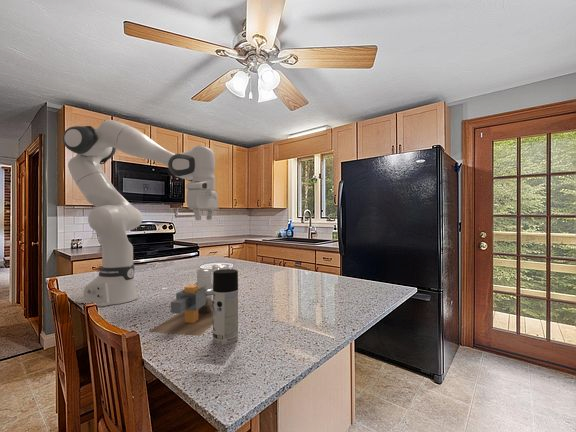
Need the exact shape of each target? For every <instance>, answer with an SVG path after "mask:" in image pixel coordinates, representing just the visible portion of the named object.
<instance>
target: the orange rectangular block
mask: <svg viewBox="0 0 576 432" xmlns="http://www.w3.org/2000/svg"><path fill="white" fill-rule="evenodd" d="M183 290H185V293H196V292H197V291H198V285H197V284H196V285H195V284H189V285H186V286H185V287H184V289H183ZM197 320H198V310H196V311H194V310H185V322H188V323H194V322H196V321H197Z"/></svg>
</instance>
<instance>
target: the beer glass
mask: <svg viewBox="0 0 576 432" xmlns="http://www.w3.org/2000/svg"><path fill="white" fill-rule="evenodd" d="M220 269H230V265H229V264H225V263H223V264H213V265H212V266H211V285H213V272H214V271H216V270H220Z"/></svg>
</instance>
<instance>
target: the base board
mask: <svg viewBox="0 0 576 432" xmlns="http://www.w3.org/2000/svg"><path fill="white" fill-rule="evenodd" d="M211 327H213V304H212V311H211V312H210V313H207V314H199V313H198V320H197V321H196V322H194V323H188V322H185V311H183V312H182V313H175V315H173V316H172V317H170V318H168V319H167V320H165V321H164V322H162V323H160V324H159V325H157V326H155V327H154V328H152V329H150V330H149V331H148V332H149V333H160V334H161V333H162V334H174V335H185V336H187V335H188V336H199V337H200V336H202V335H203V334H204V333H205V332H206V331H207V330H208V329H210V328H211Z"/></svg>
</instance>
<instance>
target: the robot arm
mask: <svg viewBox="0 0 576 432" xmlns="http://www.w3.org/2000/svg"><path fill="white" fill-rule="evenodd" d="M62 143H63V145H64V147H66V149H68V150H69V151H71V152H72V153H73V154H76V155H75V156H73V157H72V158H70V159H69V161H68V163H67V168H68V171H69V173H70V175H71V177H72V180H73V181H74V183H75V185H76V186H77V187H78V189H79V191H80V192H81V194H82V195H83V196H84V198H85V199H86V201H87V202H88V203H89V204H91V205H92V206H94V208H93V209H92V210H90V212H89V213H88V217H87V222H88V224H89V227H90V228H91V229H92V230H93V231H94V232H95V233H96V235H97V237H98V239H99V242H100V247H101V257H102V259H101V260H102V261H101V262H102V266H101V267H99V268H96V271H95V272H97V273H98V276H96V277H95V278H94V279H93V280H91V282H89V283H87V284H86V285H85V286H84V289H83V295H82V296H81V297H80V298H77V299H76V301H75V303H76V302H77V304H81V303H84V305H86V304H85V303H89V302H93V303H96V304H97V306H96V307H106V306H111V305H117V304H118V305H119V304H124V303H128V302H132V301H134V300H136V299H138V297H139V296H138V293H137V289H136V286H135V285H136V284H135V283H136V282H135V264H134V246H133V244H132V243H131V242H130V241H129V239H128V235H127V232H128V231H129V232H130V231H132V230H135V229H137V228H138V227H140V226H141V224H142V221H143V213H142V212H141V211H140V210H139V209H137V208H136V207H135V206H134V205H133V204H131V203H130V202H129V201H128V200H127V199H126V198H125V197H124V196H123V195H122V194H121V193H120V192H119V191H118V190H117V189H116V187H114V185H113V183H112V182H111V180H110V179H109V177H108V176H107V175H106V173H105V172H104V170H103V169H102V167H101V165H105V164H106V163H107V162H108V161H109V160H110V159H111V158H113V157H114V155H115V154H116V151H120V152H122V153H124V154H126V155H129V156H132V157H137V158H140V159H145V160H150V161H153V162H157V163H160V164H162V165H163V166H166V167H167V169H168V170H169V172H170V174H172V175H173V176H175V177H176V178H180V179H183V180H185V181H188V182H187V183H186V184H185V188H186V206H187V208H188V209H193V214H194V219H195V221H201V220H202V215H201V213H200V212H201V209H203V210H207V215H206V220H208V221H211V220H213V214H214V210H218V209H219V197H218V196H219V195H218V192H217V191H216V177H215V170H216V159H215V158H216V157H215V152H214V151H213V149H211V148H210V147H207V146H204V145H195V146H193V147H192V148H191V149H188V150H186V151H183V152H180V153H174V152H171V151H169V150H168V149H165V148H164V147H162V146H161V145H160V144H158V143H157V142H155V141H154V140H153V139H152V138H150V137H149V136H148V135H146V134H145V133H143V132H142V131H141V130H140V129H137V128H135V127H134V126H131V125H128V124H126V123H125V122H124V123H123V122H121V121H117V120H114V119H106V120H105V119H104V120H103V121H102V122H100V124H99V126H98V127H96V128H94V127H93V126H92V125H83V126H82V125H80V126H79V125H74V126H70V127H68V128H67V129H65V131H64V132H63V134H62Z"/></svg>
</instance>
